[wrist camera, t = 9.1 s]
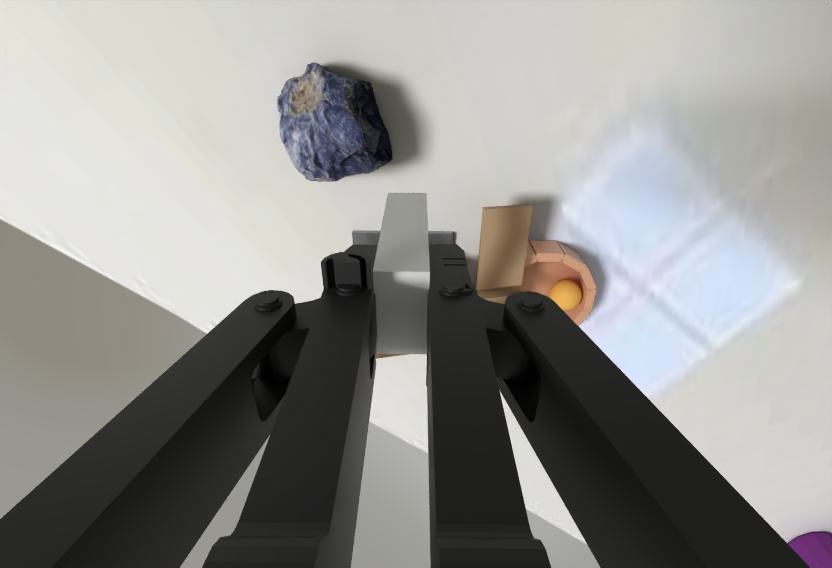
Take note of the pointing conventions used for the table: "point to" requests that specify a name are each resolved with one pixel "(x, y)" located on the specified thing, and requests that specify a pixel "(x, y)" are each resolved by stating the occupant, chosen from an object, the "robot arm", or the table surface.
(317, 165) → the rock
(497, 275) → the lever
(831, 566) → the mug
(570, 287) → the ball
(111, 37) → the table surface
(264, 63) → the table surface
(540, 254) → the terracotta bowl
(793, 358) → the table surface
